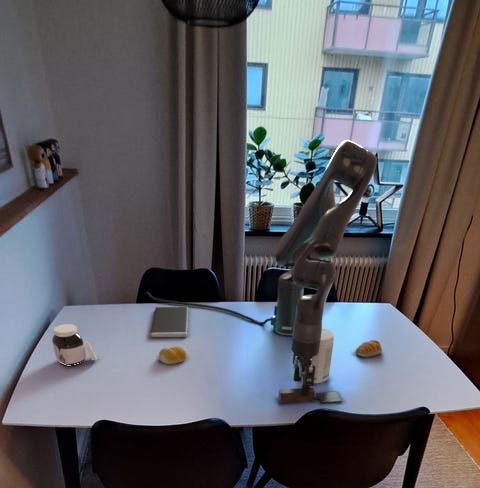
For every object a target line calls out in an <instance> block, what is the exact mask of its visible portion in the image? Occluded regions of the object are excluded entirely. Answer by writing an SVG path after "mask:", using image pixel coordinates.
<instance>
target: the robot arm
mask: <svg viewBox="0 0 480 488" xmlns="http://www.w3.org/2000/svg"><path fill="white" fill-rule="evenodd" d="M377 165H378V157H377V156H376V155H375V154H374V153H373V152H371V151H370V150H368V149H366V148H364V147H363V146H361V145H359V144H357V143H355V142H354V141H351V140H349V139H347V140H343V141H342V142H341V143H340V144H339V145H338V146H337V148H336V150H335V152H334V153H333V155H332V157H331V159H330V160H329V162H328V164H327V166H326V168H325V170H324V172H323V174H322V175H321V178H320V179H319V181H318V183H317V184H316V187H314V189H313V191H312V192H311V194H310V196H308V198H307V199H306V201H305V202H304V204H303V206H302V207H301V209H300V211H299V213H298V215H297V216H296V218H295V219H294V221H293V222H292V223H291V225H290V226H289V228H288V229H287V231H285V233H284V234H283V235H282V236H281V237H280V239H279V240H278V242H277V243H276V245H275V250H274V258H275V259H274V260H275V262H276V263H277V265H278V266H279V267H282V268H290V269H289V270H287V271H286V272H284V273H282V274H281V275H280V276H279V277H278V283H277V284H278V285H277V299H276V304H275V305H274V308H273V309H274V310H273V315H272V316H270V318H266V319H265V320H264V321H259V320H256V319H254V318H252V317H250V316H248V315H245V314H243V313H241V312H238V311H235V310H233V309H230V308H225V307H220V306H216V305H209V304H201V303H193V302H185V301H177V300H176V301H174V300H167V299H161V298H156V297H154V296H153V295H152V293H150V292H149V291H146V292H145V293H144V296H147V295H148V297H149V298H150V299H151V300H152V301H155V302H160V303H166V304H174V305H183V306H191V307H201V308H207V309H214V310H219V311H224V312H227V313H231V314H234V315H236V316H239V317H241V318H243V319H246V320H249V321H251V322H252V323H254V324H257V325H266V324H267V323H268V322H270V326H272V328H273V329H272V331H274V332H275V333H277V334H279V335H281V336H287V337H289V336H292V341H291V352H292V361H291V363H292V365H293V370H294V371H293V382H294V383H297V382H298V383H299V382H301V387H300V388H301V396H302V397H307V396H309V391H310V387H314V386H315V385H314V384H315V383H314V377H315V369H316V367H315V366H313V360H312V357H314V356H316V355H317V354H318V353H319V348H320V341H321V333H322V328H323V318H324V310H325V306H326V302H327V298H328V295H329V293H330V291H331V289H332V286H333V284H334V282H335V279H336V276H337V269H336V266H335V264H334V262H332V261H330V260H327V259H332V258H334V257H335V256H336V255H337V254H338V251H339V248H340V245H341V243H342V240H343V238H344V235H345V233H346V230H347V228H348V225H349V223H350V220H351V219H352V218H353V215H354V213H355V211H356V209H357V208H358V206H359V204H360V202H361V200H362V198H363V196H364V194H365V192H366V190H367V188H368V186H369V184H370V182H371V180H372V178H373V176H374V173H375V171H376V169H377ZM335 181H336V182H337V183H339V184H341V185H343V186H344V187H347V188H349V189H350V190H351V191H350V193H349V194H348V195H347V196H346V197H345V198H344V199H343V200H341V201H340V202H338V203H336V198H335V189H334V184H335ZM309 241H310V242H309ZM305 288H306V289H311V290H316V293H315V294H304V291H305ZM302 372H305V374H303V373H302ZM301 378H302V379H301ZM307 379H309V381H307Z"/></svg>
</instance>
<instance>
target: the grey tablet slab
mask: <svg viewBox="0 0 480 488" xmlns="http://www.w3.org/2000/svg"><path fill="white" fill-rule="evenodd" d="M153 313H154V314H153V318H152V324H151V330H150V337H151V338H185V337H188V333H189V307H188V306H155V309H154V312H153Z"/></svg>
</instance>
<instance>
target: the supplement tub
mask: <svg viewBox="0 0 480 488" xmlns="http://www.w3.org/2000/svg"><path fill="white" fill-rule="evenodd" d="M333 348H334V333H333V332H332V331H331V330H329V329H326V328H323V327H322V333H321V341H320V348H319V353H318V354H317V355H316V356H314V357H312V360H313V366H315V367H316V369H315V377H314V384H321V383H324V382H326V381H327V380H328V379H329V378H330V372H331V371H330V370H331V364H332V355H333ZM302 373H303V374H305V372H302ZM301 380H302V378H301ZM307 381H309V379H307Z"/></svg>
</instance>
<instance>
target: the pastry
mask: <svg viewBox="0 0 480 488" xmlns="http://www.w3.org/2000/svg"><path fill="white" fill-rule="evenodd" d="M382 352H383V348H382V345H381V343H380V341H378V340H376V339H370V340H367V341H364V342H362V343H361V344H359V346H358V347H357V348H356V349H355V355H358V356H360V357H363V358H368V357H373V356H374V357H375V356H377V355H380V354H381V353H382Z"/></svg>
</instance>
